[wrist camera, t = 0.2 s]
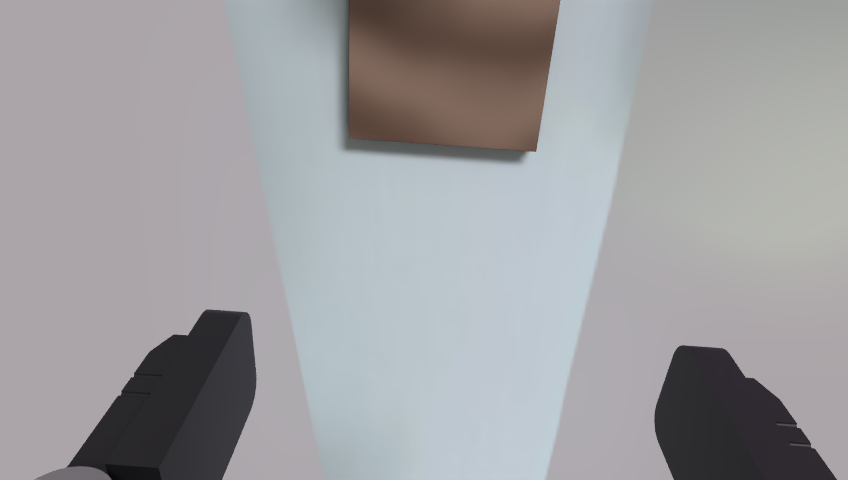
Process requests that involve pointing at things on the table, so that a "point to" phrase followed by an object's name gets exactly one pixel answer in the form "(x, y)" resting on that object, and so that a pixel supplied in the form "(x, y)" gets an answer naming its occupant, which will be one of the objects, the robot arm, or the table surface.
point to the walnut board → (450, 71)
